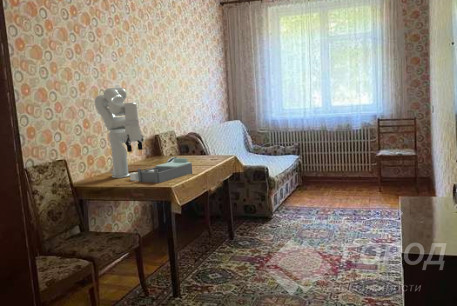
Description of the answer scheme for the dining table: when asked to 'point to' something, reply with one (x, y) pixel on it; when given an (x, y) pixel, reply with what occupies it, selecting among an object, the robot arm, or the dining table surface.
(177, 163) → the lid
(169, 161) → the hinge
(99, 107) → the robot arm
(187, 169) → the housing
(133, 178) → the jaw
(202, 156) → the dining table surface
